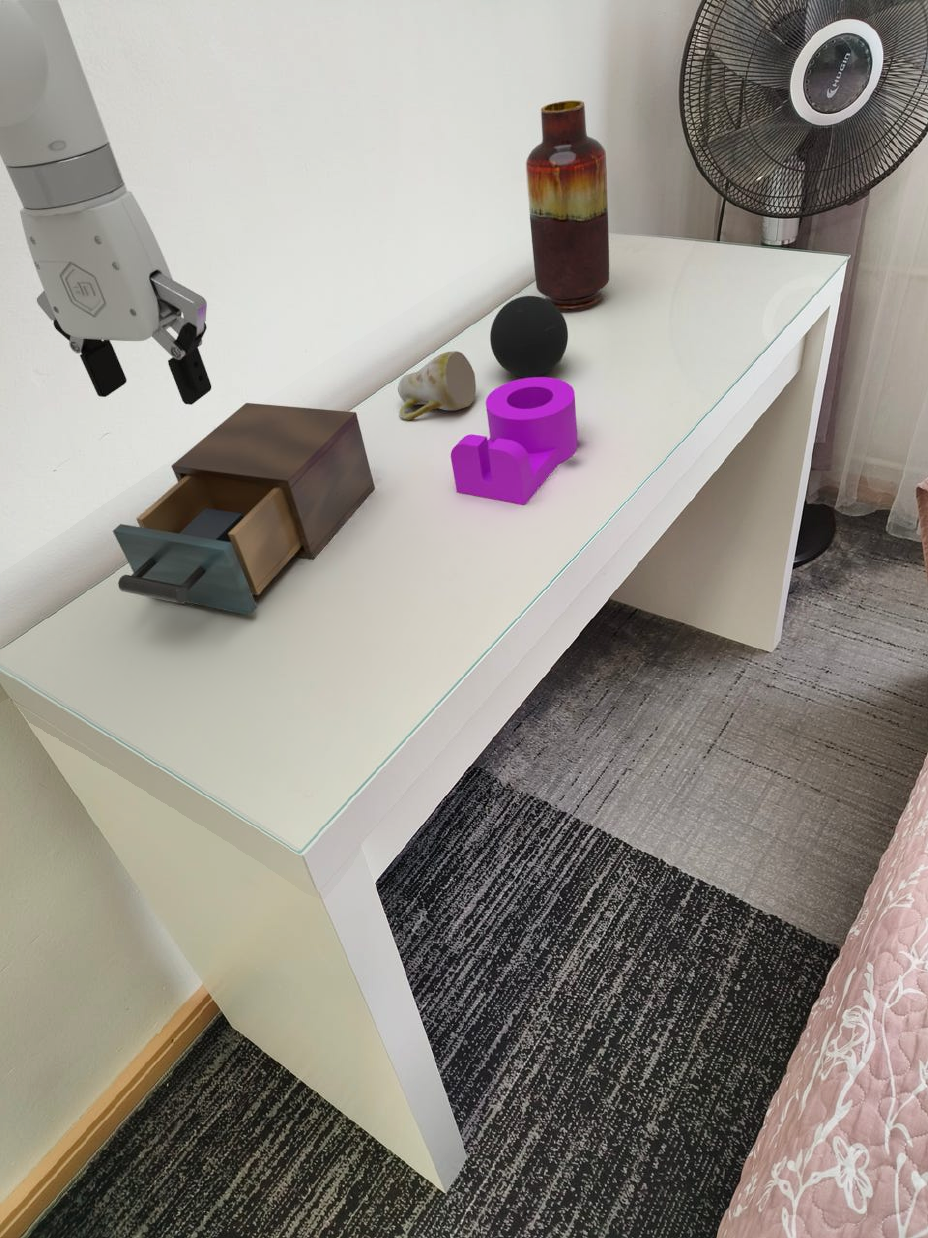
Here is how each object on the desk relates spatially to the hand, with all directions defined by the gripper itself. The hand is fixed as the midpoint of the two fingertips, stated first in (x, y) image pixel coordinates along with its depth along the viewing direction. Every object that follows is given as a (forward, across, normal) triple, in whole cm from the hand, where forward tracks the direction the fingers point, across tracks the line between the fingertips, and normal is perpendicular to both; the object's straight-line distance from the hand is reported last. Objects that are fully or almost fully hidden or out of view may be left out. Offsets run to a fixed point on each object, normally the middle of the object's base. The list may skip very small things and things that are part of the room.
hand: (155, 393), depth 74 cm
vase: (+20, +13, +72) cm, 76 cm away
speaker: (+20, +15, +48) cm, 55 cm away
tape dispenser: (+20, +22, +27) cm, 41 cm away
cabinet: (+20, 0, +12) cm, 24 cm away
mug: (+20, +6, +38) cm, 43 cm away
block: (+19, 0, 0) cm, 19 cm away
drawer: (+20, 0, -1) cm, 20 cm away
